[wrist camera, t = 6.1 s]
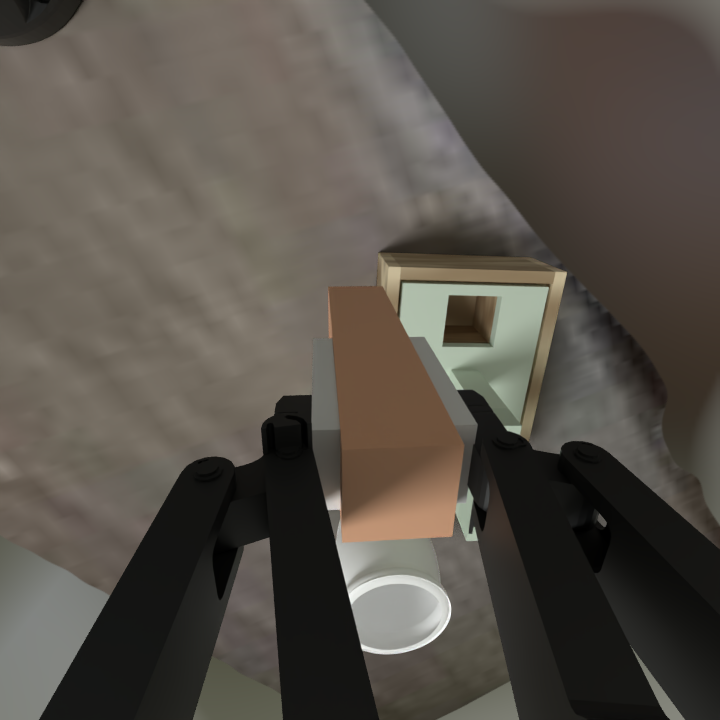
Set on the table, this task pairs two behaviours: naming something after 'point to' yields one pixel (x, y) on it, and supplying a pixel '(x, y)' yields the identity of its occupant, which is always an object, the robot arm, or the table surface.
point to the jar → (394, 593)
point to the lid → (481, 347)
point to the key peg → (389, 426)
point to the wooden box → (480, 301)
